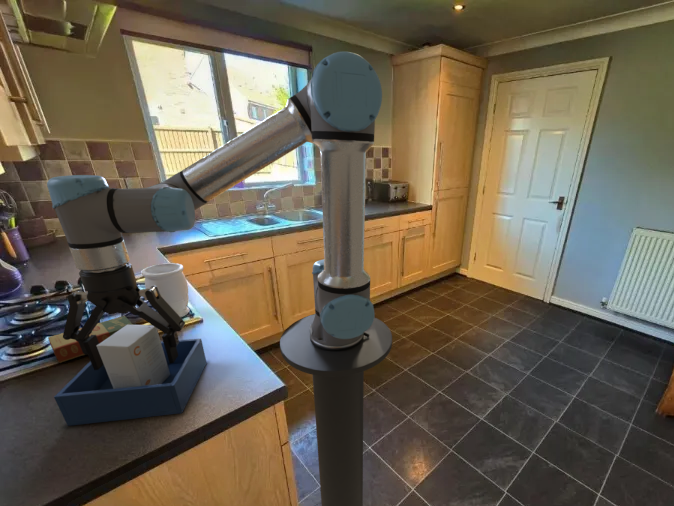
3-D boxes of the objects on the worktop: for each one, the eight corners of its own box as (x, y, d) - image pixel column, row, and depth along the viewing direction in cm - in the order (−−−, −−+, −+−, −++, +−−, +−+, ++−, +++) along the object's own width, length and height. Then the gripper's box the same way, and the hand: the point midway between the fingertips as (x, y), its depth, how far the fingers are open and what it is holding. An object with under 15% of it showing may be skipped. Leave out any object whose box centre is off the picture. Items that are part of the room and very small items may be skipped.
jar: (145, 318, 98) (131, 271, 92) (175, 304, 107) (164, 260, 101) (172, 324, 95) (160, 277, 89) (201, 309, 104) (191, 265, 98)
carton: (53, 350, 82) (46, 336, 80) (129, 327, 94) (125, 313, 92) (59, 364, 77) (52, 349, 76) (138, 337, 89) (134, 323, 87)
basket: (206, 362, 80) (201, 338, 77) (182, 413, 65) (174, 385, 62) (115, 370, 76) (106, 345, 73) (67, 426, 61) (53, 397, 58)
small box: (143, 373, 74) (127, 323, 69) (171, 374, 74) (157, 324, 69) (115, 399, 66) (94, 345, 61) (146, 400, 66) (128, 346, 61)
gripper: (187, 256, 65) (208, 346, 73) (39, 261, 60) (79, 357, 69) (173, 270, 58) (197, 367, 67) (4, 277, 53) (54, 380, 62)
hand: (138, 362), depth 68 cm, fingers open, 13 cm apart
